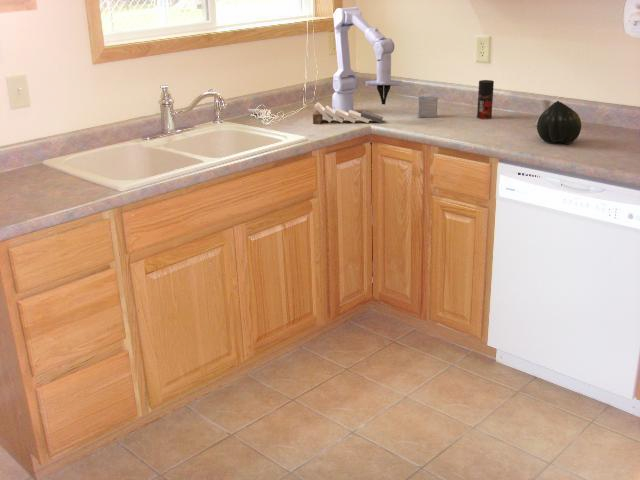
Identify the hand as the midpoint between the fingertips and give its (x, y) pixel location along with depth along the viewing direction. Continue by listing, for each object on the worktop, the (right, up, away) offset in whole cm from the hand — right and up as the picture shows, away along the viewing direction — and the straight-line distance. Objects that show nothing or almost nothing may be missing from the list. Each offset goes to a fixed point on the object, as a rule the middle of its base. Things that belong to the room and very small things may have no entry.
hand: (383, 104), depth 303 cm
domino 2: (-16, -6, +5) cm, 18 cm away
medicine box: (+19, -4, +10) cm, 22 cm away
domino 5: (0, -6, +3) cm, 7 cm away
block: (-27, -6, +6) cm, 28 cm away
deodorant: (+42, -5, +6) cm, 43 cm away
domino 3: (-11, -6, +4) cm, 13 cm away
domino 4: (-6, -6, +3) cm, 9 cm away
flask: (+62, -11, -11) cm, 64 cm away
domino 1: (-21, -6, +5) cm, 23 cm away
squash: (+60, -20, -34) cm, 72 cm away
